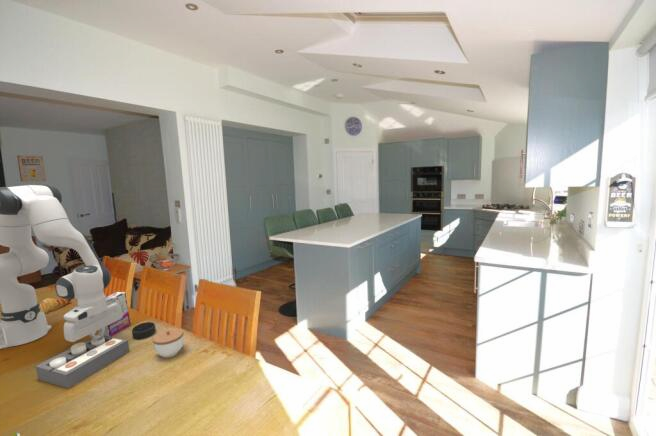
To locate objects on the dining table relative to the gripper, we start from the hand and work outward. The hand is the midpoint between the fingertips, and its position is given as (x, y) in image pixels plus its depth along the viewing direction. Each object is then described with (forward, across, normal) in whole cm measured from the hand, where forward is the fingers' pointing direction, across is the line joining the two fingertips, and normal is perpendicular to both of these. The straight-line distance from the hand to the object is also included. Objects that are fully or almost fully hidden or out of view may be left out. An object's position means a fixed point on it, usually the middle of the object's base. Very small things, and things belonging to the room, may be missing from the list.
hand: (98, 340), depth 123 cm
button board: (+6, +7, +3) cm, 9 cm away
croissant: (+6, -21, -70) cm, 73 cm away
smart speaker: (+6, -16, +5) cm, 18 cm away
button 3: (+4, 0, 0) cm, 4 cm away
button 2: (+2, +7, 0) cm, 7 cm away
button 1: (+4, +14, 0) cm, 15 cm away
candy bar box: (+6, -15, -11) cm, 20 cm away
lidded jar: (+6, -8, +28) cm, 30 cm away
